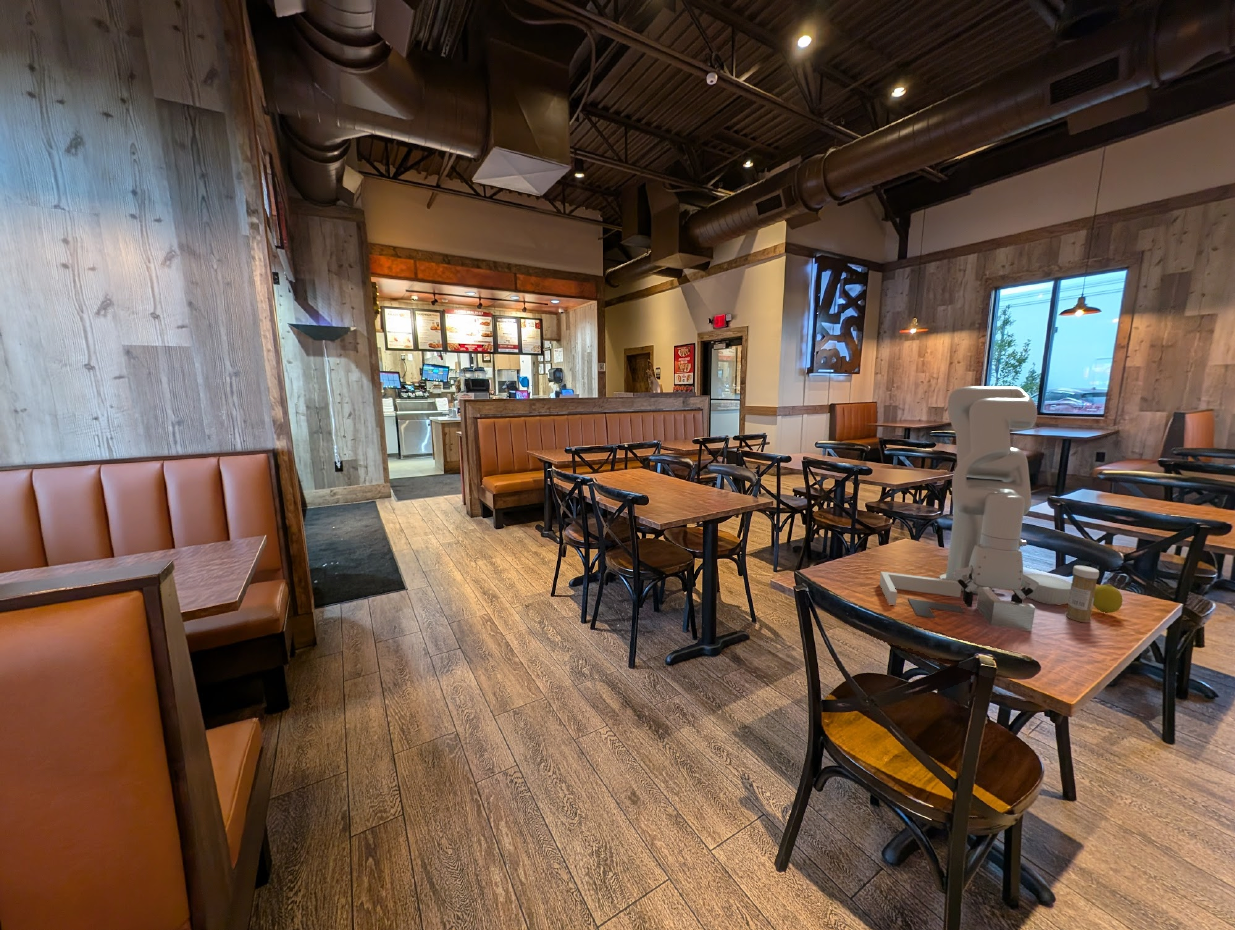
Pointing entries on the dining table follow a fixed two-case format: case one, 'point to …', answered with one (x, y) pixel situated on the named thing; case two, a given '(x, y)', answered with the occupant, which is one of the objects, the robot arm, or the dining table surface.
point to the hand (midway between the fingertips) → (990, 608)
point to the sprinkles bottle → (1082, 593)
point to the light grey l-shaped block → (916, 585)
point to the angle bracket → (1004, 611)
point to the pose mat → (932, 607)
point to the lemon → (1107, 598)
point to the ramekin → (1049, 589)
